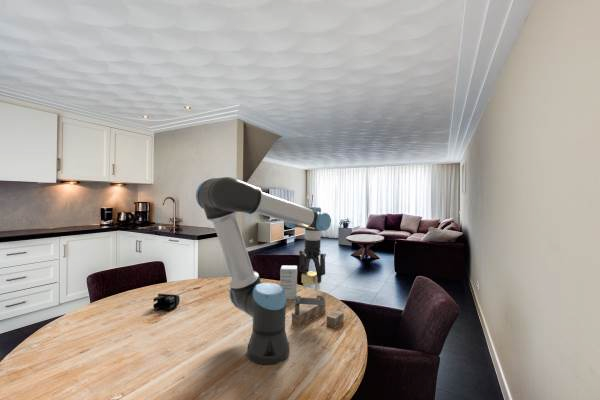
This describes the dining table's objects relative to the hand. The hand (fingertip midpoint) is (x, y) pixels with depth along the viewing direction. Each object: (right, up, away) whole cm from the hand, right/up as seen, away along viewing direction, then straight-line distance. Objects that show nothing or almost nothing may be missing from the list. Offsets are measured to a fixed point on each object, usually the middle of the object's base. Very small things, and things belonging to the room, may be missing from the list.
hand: (311, 288), depth 131 cm
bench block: (+10, -14, -7) cm, 18 cm away
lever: (-1, -4, -10) cm, 11 cm away
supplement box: (-12, -13, +27) cm, 32 cm away
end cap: (-72, -12, +7) cm, 73 cm away
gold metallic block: (0, +3, 0) cm, 3 cm away
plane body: (-1, -13, -1) cm, 14 cm away
